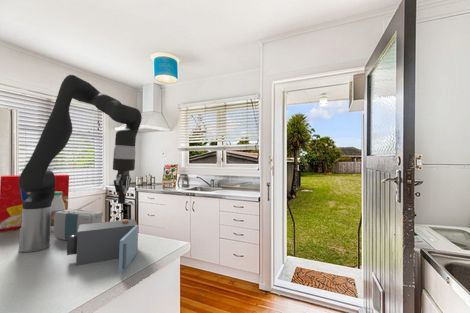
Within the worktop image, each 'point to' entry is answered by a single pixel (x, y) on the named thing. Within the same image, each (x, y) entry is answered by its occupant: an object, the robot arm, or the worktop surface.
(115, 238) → the camera housing
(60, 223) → the stereo radio cassette player
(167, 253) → the worktop surface
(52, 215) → the milk bottle
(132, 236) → the side door
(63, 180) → the red cardboard box
